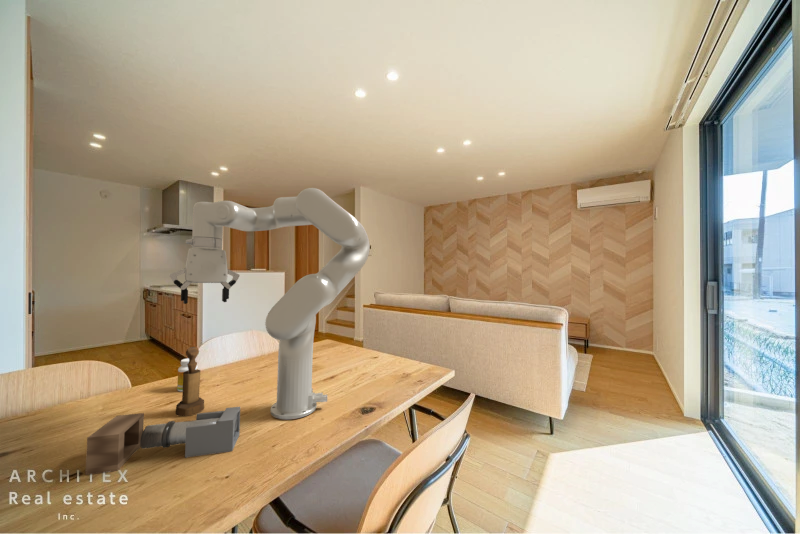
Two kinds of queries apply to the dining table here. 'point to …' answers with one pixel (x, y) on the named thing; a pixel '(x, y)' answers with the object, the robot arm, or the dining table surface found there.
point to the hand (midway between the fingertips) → (205, 302)
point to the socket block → (114, 443)
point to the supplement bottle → (180, 373)
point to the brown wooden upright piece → (190, 387)
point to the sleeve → (213, 433)
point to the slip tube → (171, 433)
